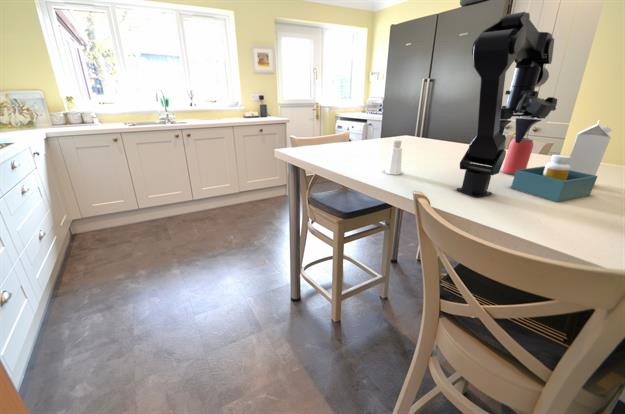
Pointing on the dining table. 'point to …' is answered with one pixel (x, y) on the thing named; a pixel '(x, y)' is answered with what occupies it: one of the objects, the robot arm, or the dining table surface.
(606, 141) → the milk carton
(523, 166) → the beer can
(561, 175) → the supplement bottle
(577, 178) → the bin
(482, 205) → the dining table surface
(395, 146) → the salt shaker
